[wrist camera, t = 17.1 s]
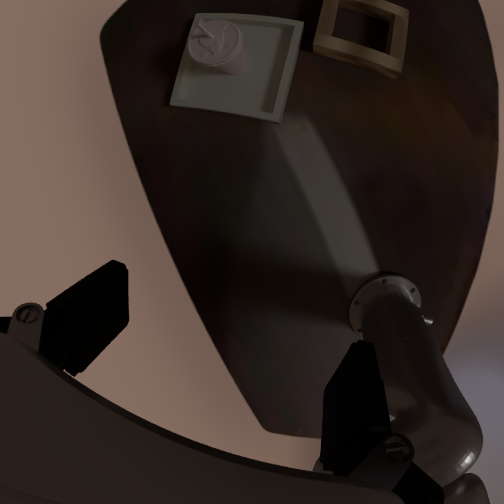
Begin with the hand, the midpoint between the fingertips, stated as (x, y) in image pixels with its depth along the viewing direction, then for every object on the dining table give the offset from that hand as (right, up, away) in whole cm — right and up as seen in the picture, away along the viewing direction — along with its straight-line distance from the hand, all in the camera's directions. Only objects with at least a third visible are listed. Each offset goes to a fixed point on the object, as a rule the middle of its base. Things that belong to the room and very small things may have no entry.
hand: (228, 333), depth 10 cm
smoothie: (-1, +30, +22) cm, 37 cm away
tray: (-1, +30, +22) cm, 37 cm away
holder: (+16, +34, +16) cm, 41 cm away
